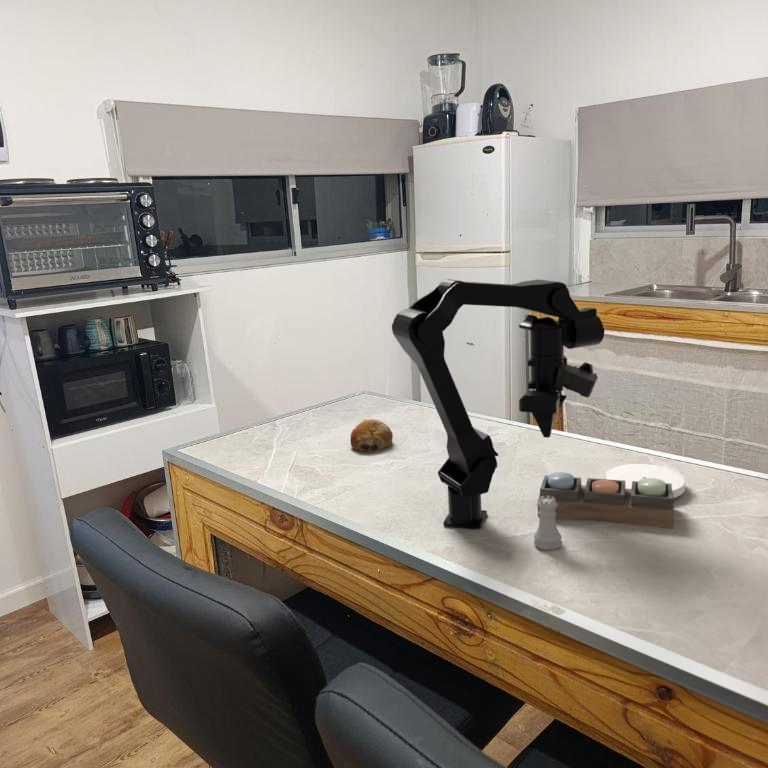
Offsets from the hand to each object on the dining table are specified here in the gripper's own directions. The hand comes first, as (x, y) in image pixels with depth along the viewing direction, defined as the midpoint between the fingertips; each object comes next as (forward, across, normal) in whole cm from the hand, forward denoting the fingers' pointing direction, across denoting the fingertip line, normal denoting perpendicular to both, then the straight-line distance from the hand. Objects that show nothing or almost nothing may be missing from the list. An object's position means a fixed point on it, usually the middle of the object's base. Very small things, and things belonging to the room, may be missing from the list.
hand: (547, 436), depth 128 cm
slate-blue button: (+8, -4, -3) cm, 9 cm away
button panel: (+12, -3, -11) cm, 16 cm away
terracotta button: (+9, -3, -11) cm, 14 cm away
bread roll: (+13, +20, +44) cm, 50 cm away
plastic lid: (+12, +8, -16) cm, 22 cm away
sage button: (+8, -3, -18) cm, 20 cm away
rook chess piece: (+12, -18, -3) cm, 22 cm away
